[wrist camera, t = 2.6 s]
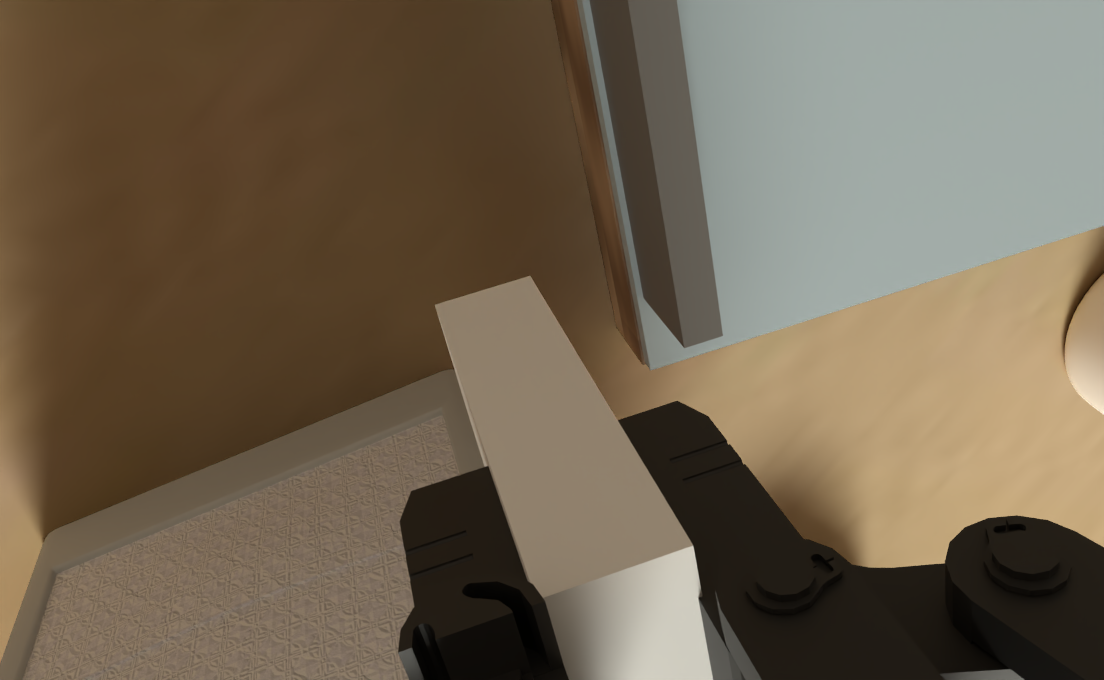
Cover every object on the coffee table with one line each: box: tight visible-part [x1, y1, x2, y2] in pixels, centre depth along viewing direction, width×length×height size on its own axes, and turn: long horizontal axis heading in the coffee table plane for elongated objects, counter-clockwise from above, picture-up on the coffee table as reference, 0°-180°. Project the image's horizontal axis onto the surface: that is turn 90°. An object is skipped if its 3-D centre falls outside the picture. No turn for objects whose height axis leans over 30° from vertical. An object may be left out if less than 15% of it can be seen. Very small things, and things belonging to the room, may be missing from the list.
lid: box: [577, 0, 1104, 370], centre depth 27 cm, size 19×18×4 cm
